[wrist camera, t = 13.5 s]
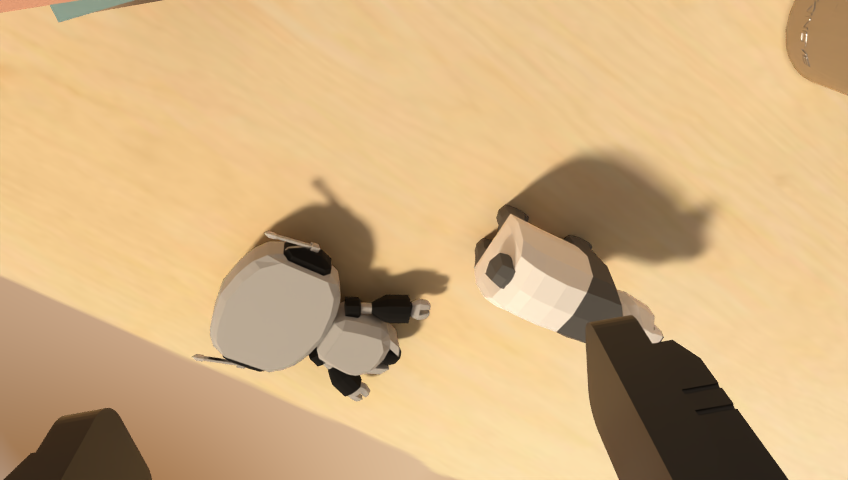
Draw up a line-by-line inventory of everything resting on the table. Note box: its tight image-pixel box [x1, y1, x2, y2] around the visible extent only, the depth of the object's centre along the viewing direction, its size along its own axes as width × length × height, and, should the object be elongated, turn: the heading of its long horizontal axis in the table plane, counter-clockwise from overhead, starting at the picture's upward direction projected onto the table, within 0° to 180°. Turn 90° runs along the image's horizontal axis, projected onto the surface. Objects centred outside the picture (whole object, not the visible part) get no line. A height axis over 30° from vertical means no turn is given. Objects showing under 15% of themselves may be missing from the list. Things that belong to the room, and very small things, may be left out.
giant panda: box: [474, 205, 664, 343], centre depth 44 cm, size 15×6×10 cm, turn 61°
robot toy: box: [192, 231, 431, 401], centre depth 47 cm, size 12×4×15 cm
